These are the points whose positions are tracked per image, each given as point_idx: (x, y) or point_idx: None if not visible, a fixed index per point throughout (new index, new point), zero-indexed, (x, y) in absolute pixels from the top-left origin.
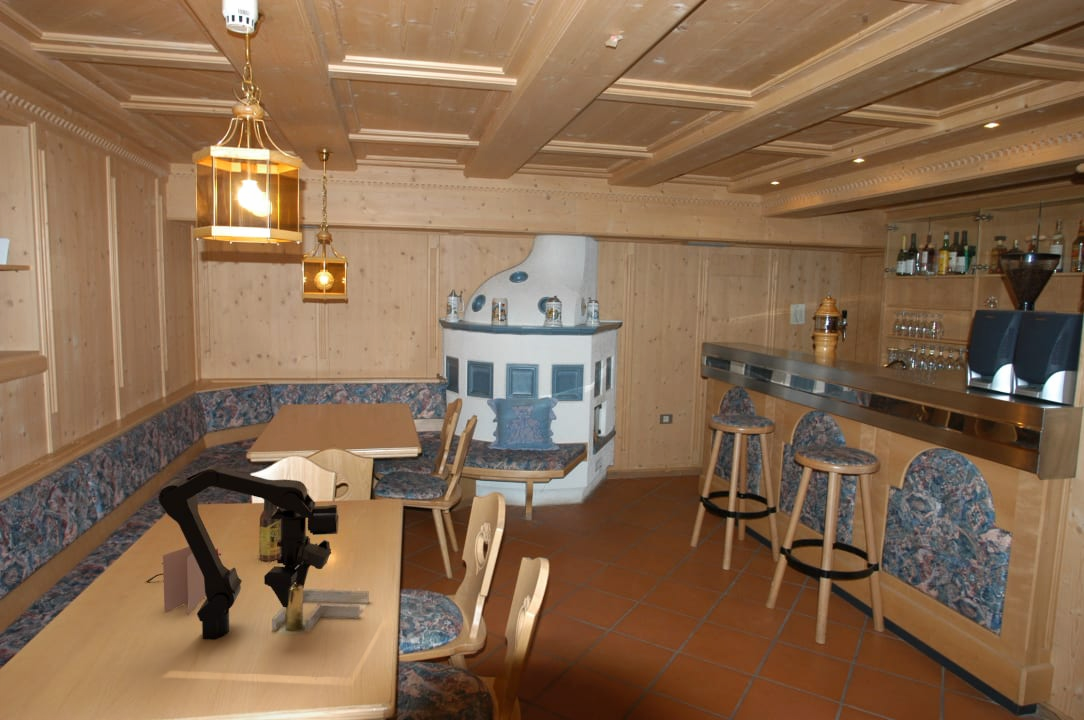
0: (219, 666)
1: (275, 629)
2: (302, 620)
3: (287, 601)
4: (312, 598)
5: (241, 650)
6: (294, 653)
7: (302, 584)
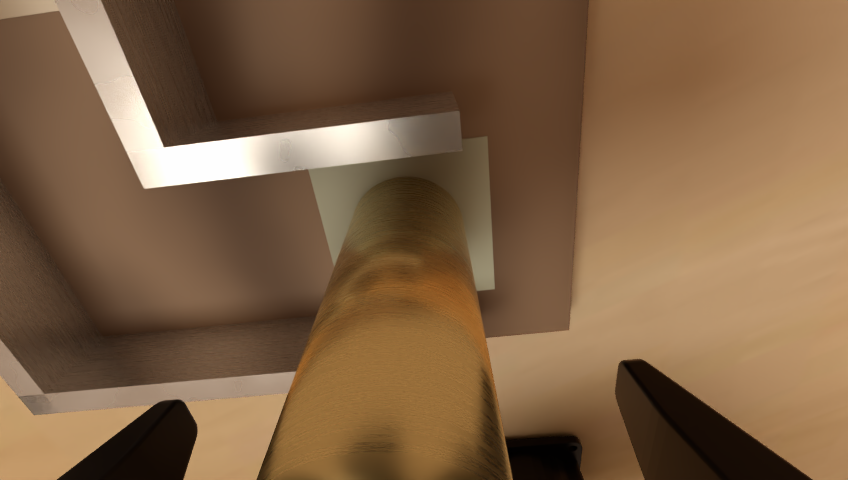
0: (762, 368)
1: None
2: (391, 196)
3: (723, 418)
4: (45, 292)
5: (622, 355)
6: (673, 78)
7: (136, 461)
